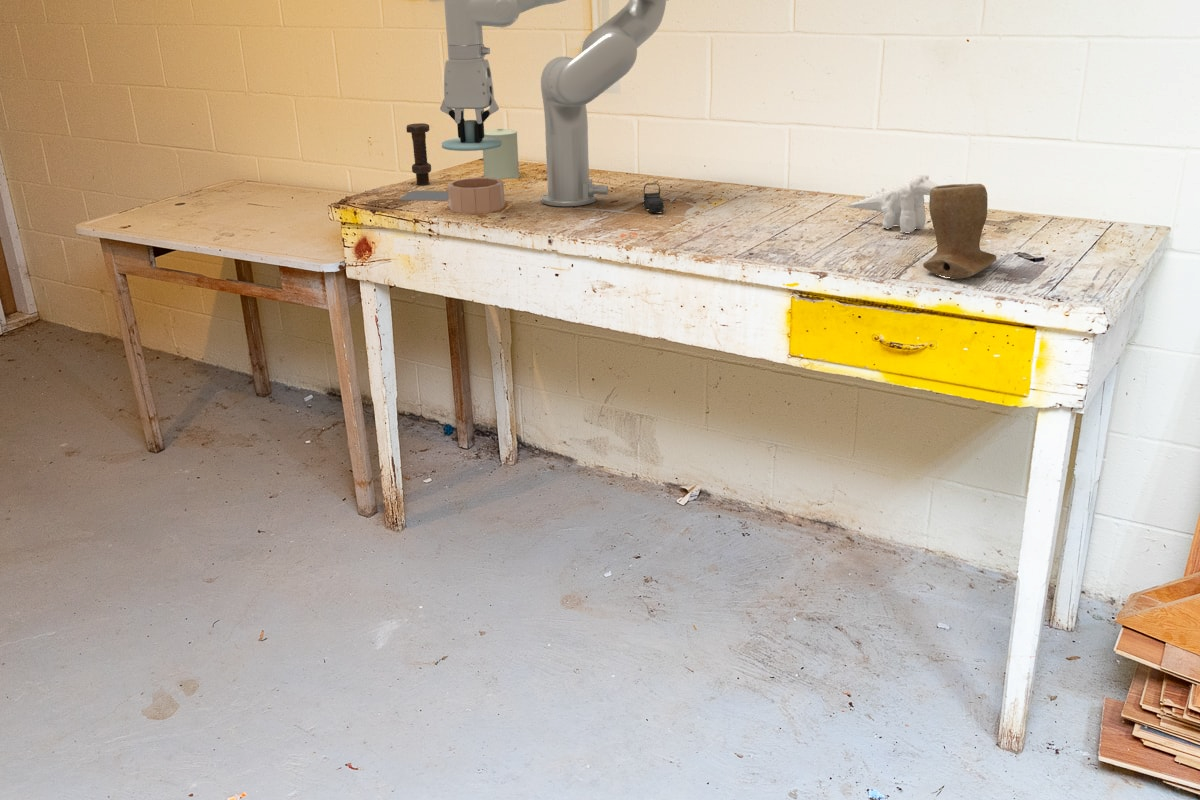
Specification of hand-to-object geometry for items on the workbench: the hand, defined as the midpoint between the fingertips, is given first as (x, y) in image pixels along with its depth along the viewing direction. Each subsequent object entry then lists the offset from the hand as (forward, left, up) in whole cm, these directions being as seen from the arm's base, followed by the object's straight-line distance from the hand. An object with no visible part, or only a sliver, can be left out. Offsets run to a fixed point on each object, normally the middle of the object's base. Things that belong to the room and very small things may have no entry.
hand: (471, 140), depth 229 cm
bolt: (+21, -24, -15) cm, 35 cm away
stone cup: (-98, +39, -15) cm, 107 cm away
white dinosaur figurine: (-90, +10, -15) cm, 92 cm away
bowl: (0, 0, -15) cm, 15 cm away
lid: (0, 0, -1) cm, 1 cm away
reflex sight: (-40, -3, -16) cm, 43 cm away
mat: (+15, -11, -15) cm, 24 cm away
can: (+4, -36, -15) cm, 39 cm away
